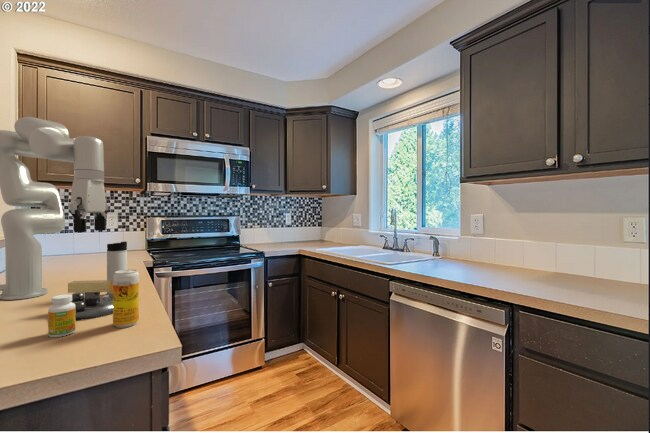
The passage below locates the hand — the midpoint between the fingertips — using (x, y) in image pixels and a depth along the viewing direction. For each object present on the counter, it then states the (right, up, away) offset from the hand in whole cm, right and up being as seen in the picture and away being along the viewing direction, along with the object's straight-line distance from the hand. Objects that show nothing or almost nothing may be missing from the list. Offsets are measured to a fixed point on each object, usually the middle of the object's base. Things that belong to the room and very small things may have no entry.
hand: (90, 231), depth 97 cm
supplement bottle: (+6, -26, -17) cm, 32 cm away
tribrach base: (0, -25, +1) cm, 25 cm away
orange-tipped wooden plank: (0, -23, +1) cm, 23 cm away
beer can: (+18, -26, -10) cm, 33 cm away
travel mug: (-4, -25, +18) cm, 31 cm away
